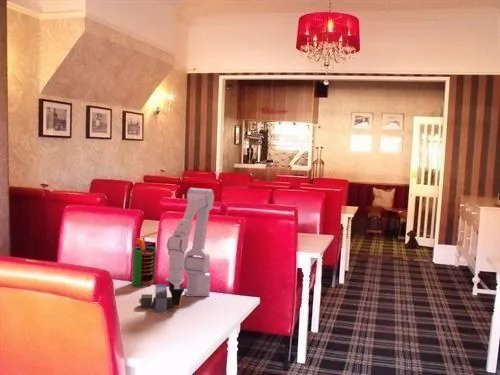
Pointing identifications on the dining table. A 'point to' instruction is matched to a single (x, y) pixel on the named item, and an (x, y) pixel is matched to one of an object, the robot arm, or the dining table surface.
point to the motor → (143, 265)
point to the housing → (161, 298)
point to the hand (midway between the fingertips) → (175, 302)
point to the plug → (154, 301)
